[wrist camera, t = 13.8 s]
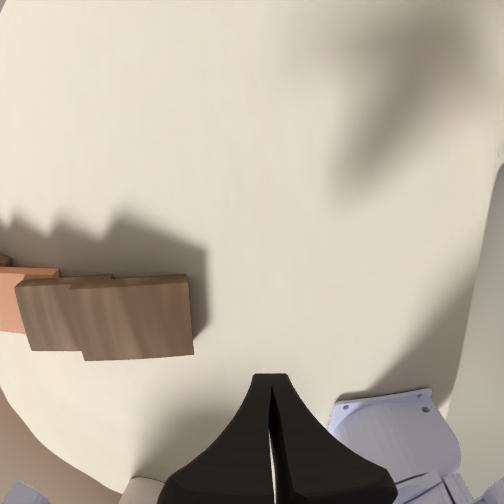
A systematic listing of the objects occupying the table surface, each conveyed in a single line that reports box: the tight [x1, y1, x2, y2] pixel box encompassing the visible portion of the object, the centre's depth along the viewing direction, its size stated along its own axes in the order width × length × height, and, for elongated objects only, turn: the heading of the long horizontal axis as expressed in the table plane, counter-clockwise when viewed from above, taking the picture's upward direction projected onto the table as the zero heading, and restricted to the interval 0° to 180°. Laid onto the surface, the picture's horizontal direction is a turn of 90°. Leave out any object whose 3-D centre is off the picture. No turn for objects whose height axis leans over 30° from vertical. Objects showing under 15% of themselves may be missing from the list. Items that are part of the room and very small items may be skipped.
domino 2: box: [14, 274, 113, 351], centre depth 17 cm, size 2×5×8 cm
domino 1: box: [0, 267, 60, 334], centre depth 17 cm, size 2×5×8 cm
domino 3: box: [68, 274, 194, 361], centre depth 17 cm, size 2×5×8 cm
